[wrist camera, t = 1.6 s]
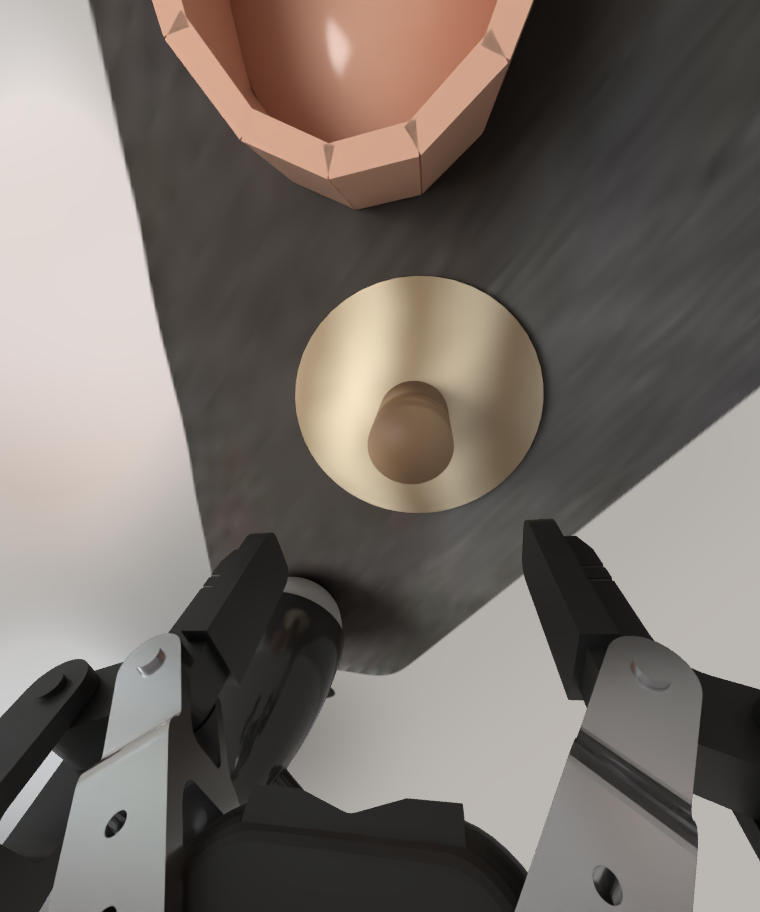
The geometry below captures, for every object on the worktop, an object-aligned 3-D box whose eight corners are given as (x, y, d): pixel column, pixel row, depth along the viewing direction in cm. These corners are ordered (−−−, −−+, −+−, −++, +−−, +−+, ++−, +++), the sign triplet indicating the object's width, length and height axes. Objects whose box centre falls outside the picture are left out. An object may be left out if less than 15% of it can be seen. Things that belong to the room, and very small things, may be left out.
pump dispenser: (346, 640, 35) (295, 864, 21) (251, 616, 35) (142, 823, 21) (363, 575, 30) (312, 812, 16) (253, 547, 30) (113, 759, 16)
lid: (546, 250, 17) (600, 234, 12) (532, 498, 24) (562, 557, 19) (270, 302, 20) (216, 307, 15) (329, 510, 27) (306, 564, 22)
